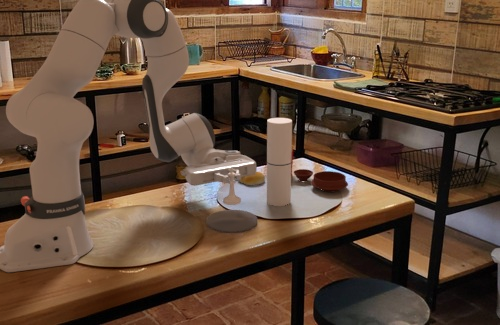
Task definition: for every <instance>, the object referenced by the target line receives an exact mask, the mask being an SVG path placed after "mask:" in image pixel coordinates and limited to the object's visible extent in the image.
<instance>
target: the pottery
mask: <svg viewBox="0 0 500 325" xmlns="http://www.w3.org/2000/svg"><path fill="white" fill-rule="evenodd" d="M293 174H294V176H295V177H296V178H297V179H298V181H299V180H300V181H307V180H309V179H310V178H311V177H312V176H313V179H311V181H310V185H311V186H313V187H314V188H317V189H319V190H320V189H322V190H324V191H323V192H325V191H330V192H329V193H332V192H331V191H335V192H338V191H339V190H342V189H345V188H347V187H348V186H349V183H348V181H347V180H346V178H347V176H346V175H345V174H343V173H341V172H337V171H333V170H332V171H330V170H328V171H327V170H326V171H325V170H324V171H318V172H316V173H314V172H313V171H312V169H311V170H310V169H306V168H305V169H301V168H300V169H296V170H294V171H293ZM300 181H299V182H300ZM307 182H308V181H307ZM322 190H321V191H322Z"/></svg>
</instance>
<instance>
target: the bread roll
mask: <svg viewBox="0 0 500 325" xmlns="http://www.w3.org/2000/svg"><path fill="white" fill-rule="evenodd" d="M265 180H266V177H265V174H264V173H262V172H259V171H258V170H257V171H256V174H255V175H250V176H245V177H241V181H239V182H240V183H241V184H244V185H245V186H259V184H260V185H262V184H264V182H265Z"/></svg>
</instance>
